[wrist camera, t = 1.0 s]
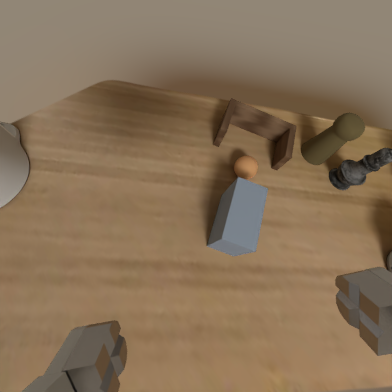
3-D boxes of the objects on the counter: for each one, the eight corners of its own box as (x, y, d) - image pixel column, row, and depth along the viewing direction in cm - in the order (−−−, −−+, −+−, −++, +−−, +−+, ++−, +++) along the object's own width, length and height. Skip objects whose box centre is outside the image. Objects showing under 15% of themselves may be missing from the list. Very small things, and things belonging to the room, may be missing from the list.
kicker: (206, 246, 35) (221, 238, 28) (221, 195, 39) (238, 176, 32) (233, 256, 35) (255, 251, 28) (246, 204, 39) (267, 188, 32)
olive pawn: (295, 149, 47) (335, 114, 37) (311, 138, 49) (353, 102, 39) (314, 169, 46) (360, 140, 36) (329, 157, 48) (377, 126, 38)
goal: (213, 144, 43) (220, 128, 38) (223, 115, 46) (231, 98, 41) (276, 170, 44) (291, 157, 39) (282, 140, 47) (296, 126, 42)
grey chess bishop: (323, 169, 46) (377, 137, 35) (342, 165, 48) (399, 133, 37) (335, 193, 45) (396, 167, 34) (355, 188, 46) (419, 161, 35)
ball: (228, 177, 41) (237, 167, 36) (233, 159, 42) (242, 147, 38) (249, 185, 41) (259, 176, 37) (253, 167, 43) (264, 156, 39)
